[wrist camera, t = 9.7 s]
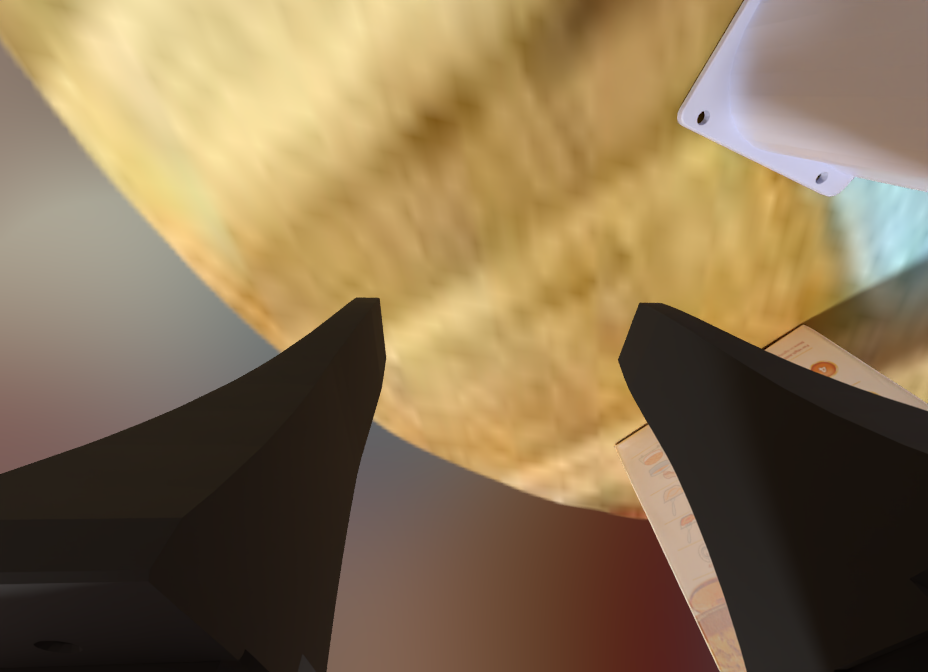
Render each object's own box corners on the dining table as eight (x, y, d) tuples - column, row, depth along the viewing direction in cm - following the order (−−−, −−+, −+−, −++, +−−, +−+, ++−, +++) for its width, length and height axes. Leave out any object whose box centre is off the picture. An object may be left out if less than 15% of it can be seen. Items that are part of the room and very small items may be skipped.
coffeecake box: (660, 475, 31) (886, 887, 15) (609, 444, 28) (819, 908, 12) (846, 372, 24) (1599, 906, 8) (803, 319, 22) (1796, 960, 6)
